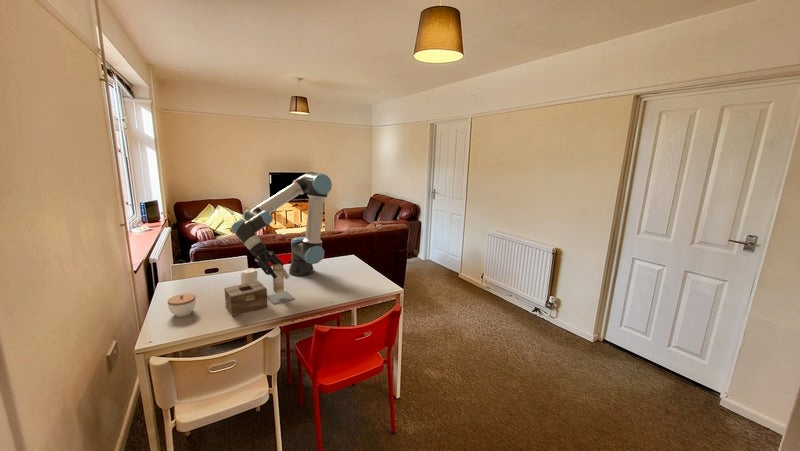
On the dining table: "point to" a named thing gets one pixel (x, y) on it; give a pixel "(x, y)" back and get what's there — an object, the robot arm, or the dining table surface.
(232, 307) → the brown square frame
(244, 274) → the tan half-round slab
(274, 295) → the mat
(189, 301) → the lidded jar
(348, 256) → the dining table surface
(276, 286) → the wooden block
